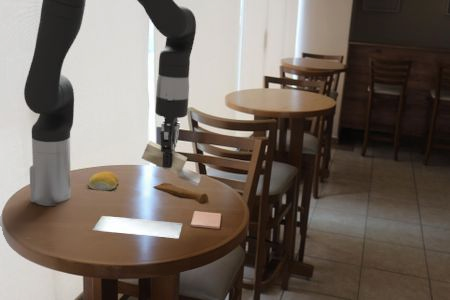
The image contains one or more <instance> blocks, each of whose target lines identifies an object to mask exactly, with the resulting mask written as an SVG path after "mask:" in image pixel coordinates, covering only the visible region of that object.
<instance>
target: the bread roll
mask: <svg viewBox="0 0 450 300" xmlns="http://www.w3.org/2000/svg"><path fill="white" fill-rule="evenodd" d="M119 182H120V181H119V178H118V176H117V175H116V174H114V172H110V171H100V172H97V173H95V174H93V175H92V176H91V177H90V178H89V180H88V186H89V188H90V189H92V190H94V191H100V190H101V192H102V191H103V192H104V191H106V190H107V191H111V190H113V189H115V188H116V187H117V185H118V184H119Z"/></svg>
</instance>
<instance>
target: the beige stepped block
mask: <svg viewBox="0 0 450 300" xmlns="http://www.w3.org/2000/svg"><path fill="white" fill-rule="evenodd" d="M141 159H143V160H144V161H147V162H149V163H150V164H153V165H154V166H155V165H156V166H158V167H159V168H162V169H164V170H167V171H168V172H171V173H173V174H175V175H177V178H178V179H181V180H183V181H185V182H188V183H190V184H192V185H194V186H196V187H198V186H199V184H200V180H201V176H202V174H199V173H198V172H196V171H193V170H192V169H189V168H187V167H185V165H186V162H187V159H188V156H184V155H183V154H180V153H178V152H176V151H175V152H173V157H172V167H171V168H164V167H163V166H162V165H163V152H161V144H159V143H156V142H154V141H152V140H149V141H148V142H147V144H146V147H145V148H144V151H143V154H142V156H141Z"/></svg>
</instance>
